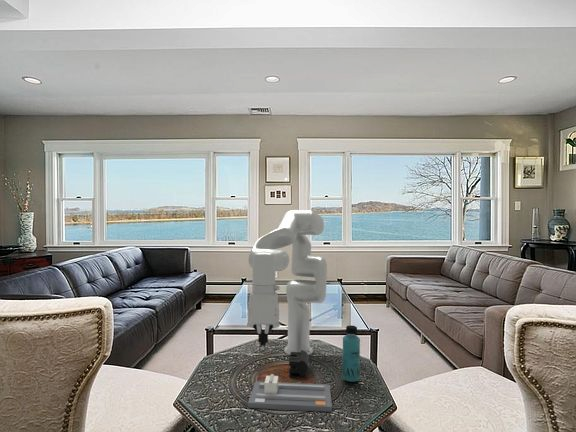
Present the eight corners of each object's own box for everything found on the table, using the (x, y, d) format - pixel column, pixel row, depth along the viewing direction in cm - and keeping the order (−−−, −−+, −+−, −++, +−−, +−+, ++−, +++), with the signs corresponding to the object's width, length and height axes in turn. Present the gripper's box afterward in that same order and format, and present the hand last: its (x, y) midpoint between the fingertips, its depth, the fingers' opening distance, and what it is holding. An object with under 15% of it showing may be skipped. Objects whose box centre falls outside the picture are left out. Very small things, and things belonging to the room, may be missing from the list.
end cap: (308, 378, 127) (308, 360, 127) (288, 378, 128) (289, 359, 128) (308, 367, 137) (308, 349, 137) (290, 366, 138) (290, 349, 138)
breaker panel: (255, 385, 122) (255, 378, 122) (329, 388, 120) (329, 381, 120) (248, 407, 108) (248, 399, 108) (331, 411, 106) (332, 403, 106)
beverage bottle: (337, 380, 126) (338, 326, 126) (349, 375, 130) (350, 322, 130) (352, 387, 121) (352, 330, 121) (363, 382, 125) (364, 326, 125)
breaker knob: (266, 387, 117) (266, 373, 117) (278, 387, 117) (278, 374, 117) (264, 395, 112) (264, 380, 112) (276, 395, 112) (276, 381, 112)
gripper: (286, 287, 118) (286, 341, 118) (243, 286, 118) (242, 340, 118) (285, 291, 110) (285, 349, 110) (239, 291, 111) (238, 348, 111)
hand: (263, 344), depth 114 cm, fingers closed
